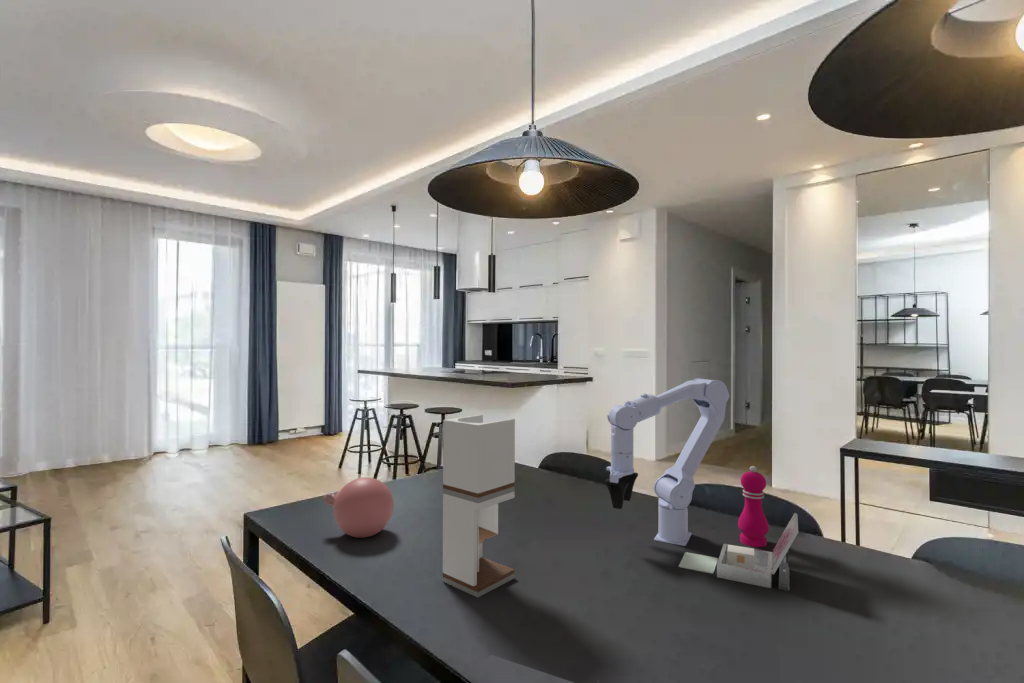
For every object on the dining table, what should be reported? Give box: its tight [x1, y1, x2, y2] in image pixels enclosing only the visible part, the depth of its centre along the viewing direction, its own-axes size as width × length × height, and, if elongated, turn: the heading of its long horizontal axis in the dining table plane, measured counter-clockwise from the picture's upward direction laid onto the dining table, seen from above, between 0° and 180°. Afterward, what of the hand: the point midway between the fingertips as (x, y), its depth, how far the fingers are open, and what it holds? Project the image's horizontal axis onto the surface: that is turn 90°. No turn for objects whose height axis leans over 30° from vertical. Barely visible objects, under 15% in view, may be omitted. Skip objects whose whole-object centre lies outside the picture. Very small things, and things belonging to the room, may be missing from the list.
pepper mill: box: [737, 465, 770, 548], centre depth 132 cm, size 7×7×20 cm
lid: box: [771, 512, 799, 575], centre depth 112 cm, size 13×11×1 cm
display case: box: [442, 414, 516, 599], centre depth 111 cm, size 11×11×35 cm
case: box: [716, 543, 790, 592], centre depth 115 cm, size 13×14×5 cm
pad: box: [678, 551, 719, 574], centre depth 120 cm, size 9×8×1 cm
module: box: [727, 544, 755, 569], centre depth 116 cm, size 4×6×4 cm
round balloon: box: [322, 476, 395, 539], centre depth 137 cm, size 15×20×15 cm
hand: (621, 504), depth 133 cm, fingers open, 7 cm apart
